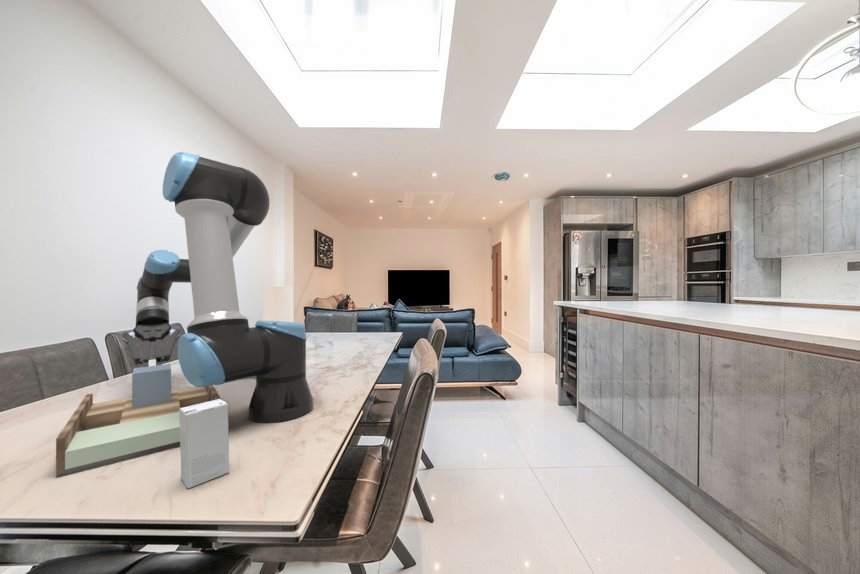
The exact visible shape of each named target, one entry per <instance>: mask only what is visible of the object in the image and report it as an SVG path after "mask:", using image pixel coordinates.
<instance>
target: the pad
mask: <svg viewBox="0 0 860 574" xmlns="http://www.w3.org/2000/svg"><path fill="white" fill-rule="evenodd" d="M176 442H180V415H179V412H176V413H171V414H166V415H161V416H156V417H151V418H146V419H141V420H136V421H131V422H125V423H120V424H115V425H110V426H105V427H100V428H95V429H90V430H85V431H80V432H76V434H75V436H74V437H73V439H72V441H71V443H70V444H69V446H68V448H67V450H66V451H65V469H69V468H73V467H78V466H82V465H86V464H90V463H94V462H98V461H102V460H106V459H110V458H114V457H118V456H122V455H127V454H131V453H135V452H139V451H143V450H147V449H151V448H155V447H159V446H163V445H167V444H171V443H176Z"/></svg>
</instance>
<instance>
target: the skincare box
mask: <svg viewBox="0 0 860 574" xmlns="http://www.w3.org/2000/svg"><path fill="white" fill-rule="evenodd" d="M179 415H180V447H179V449H180V479H181V480H182V482H183V484H184V486H185V487H186V488H187V489H191V488H193V487H195V486H198V485H200V484H203V483H206V482H208V481H211V480H213V479H216V478H218V477H221V476H223V475H225V474H229V473H230V451H229V450H230V449H229V445H230V444H229V404H228V403H227V402H226V401H225V400H223V399H222V398H221V399H217V400H213V401H209V402H204V403H200V404H196V405H192V406H188V407H183V408H180V409H179Z"/></svg>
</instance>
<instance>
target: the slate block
mask: <svg viewBox="0 0 860 574" xmlns="http://www.w3.org/2000/svg"><path fill="white" fill-rule="evenodd" d="M131 379H132V380H131V383H132V384H131V386H132V387H131V391H132V392H131V394H132V395H131V398H132V409H133V408H138V407H144V406H149V405H155V404H161V403H166V402H171V391H172V367H171V364H170V363H167V364H161V365H157V366H148V367H143V366H142V367H134V368H133V371H132V374H131Z"/></svg>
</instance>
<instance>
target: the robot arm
mask: <svg viewBox="0 0 860 574" xmlns="http://www.w3.org/2000/svg"><path fill="white" fill-rule="evenodd" d="M162 196H163V198H164V200H166V201H168V202H170V203H172V202H174V208H175V209H174V210H175V212H176V214H178V215H179V216H180V217H182V218H183V219H184V224H185V225H184V227H185V236H186V237H185V238H186V247H187V255H188V259H187V258H180V257H179V256H178V254H176V253H175V252H173V251H168V250H166V249H157V250H153V251H151V252H150V253H149V254H148V257H147V258H146V261H145V263H144V268H143V272H142V275H141V277H139V279H138V282H137V286H136V290H137V299H136V301H137V302H136V310H135V311H136V312H135V326H134V328H133V329H132V331H129V332H123V333H122V335H121V337H122V341H123V342H124V343H125V344H127V347H128V349H129V353H130V355H131V357H132V360H133V363H134V365H137V366H138V365H142V367H148V366H157V365H163V363H164V362H169V361H170V359H171V357H172V353H173V351H174V348H175V345H176V343H177V358H178V363H179V366H180V369H181V371H182V374H183V376H184V378H185V379H186V380H187V381H188V383H189V384H190V385H192V386H194V387H207V386H212V385H213V386H221V385H223V384H227V383H231V382H235V381H241V380H244V379H245V380H246V379H249V378H254V377H255V380H256V382H255V387H254V390H253V391H252V395H251V398H250V401H249V404H248V409H247V413H248V414H247V415H248V419H250V420H251V421H253V422H258V423H278V422H285V421H289V420H293V419H296V418H300V417H301V416H304V415H306V414H308V413H309V412H311V410H313V408H314V397H313V395H312V392H311V389H310V387H309V384H308V380H307V378H306V377H307V375H306V374H307V373H306V372H307V363H306V362H307V353H306V352H307V349H306V348H307V346H306V345H307V341H308V338H307V335H306V334H307V333H306V327H305V326H304V324H303V323H300V322H293V321H291V322H290V321H280V320H276V321H275V320H257V321H256V322H255V325H254V326H255V327H250V324H249V319H248V317H246V316H245V315H243V314H242V313H241V312H240V305H239V304H240V303H239V298H238V290H237V281H236V274H235V267H234V257H235V256H236V254H237V253H238V251H239V250H240V248H241V247H242V245H243V244H244V242H245V241H246V239H247V238H248V236H249V235H250V234H251V232H252V231H253V229H254V228H255V227H257V226H260V225H262V223H263V222H264V220H265V219H266V217H267V215H268V213H269V210H270V194H269V192H268V189H267V187H266V185H265V184H264V182H263V181H262V179H261V178H260V177H259V176H258V175H257V174H255V173H254V172H252V171H251V170H249V169H247V168H244V167H240V166H237V165H232V164H228V163H225V162H221V161H219V160H214V159H210V158H208V157H204V156H200V154H193V153H189V152H184V151H178V152H175V153H174V154H173V155H172V156H171V158H170V159H169V161H168V163H167V166H166V168H165V172H164V176H163V183H162ZM174 283H190V286H191V295H192V304H193V315H194V318H193V320H192V321H190V323H188V324H187V326H186V330H187V332H186V333H184V334H182V335H181V329H179V328H177V329H173V328H172V326H171V325H170V311H169V310H170V309H169V306H170V304H169V296H170V295H169V294H170V290H171V287H172V285H173V284H174ZM167 336H169V340H168V342H167V346H166V348H165V352H164V353H163V354H162V341H163V340H164V339H165V338H166V337H167ZM135 337H136V338H138V340H140V341H141V342H143V349H142V350H143V351H142V353H143V354H142V356H140V353H139V350H138V348H137V347H138V346H137V345H136V342H135ZM177 340H178V341H177ZM153 342H154V343H155V359H150V346H151V344H150V343H153Z"/></svg>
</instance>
